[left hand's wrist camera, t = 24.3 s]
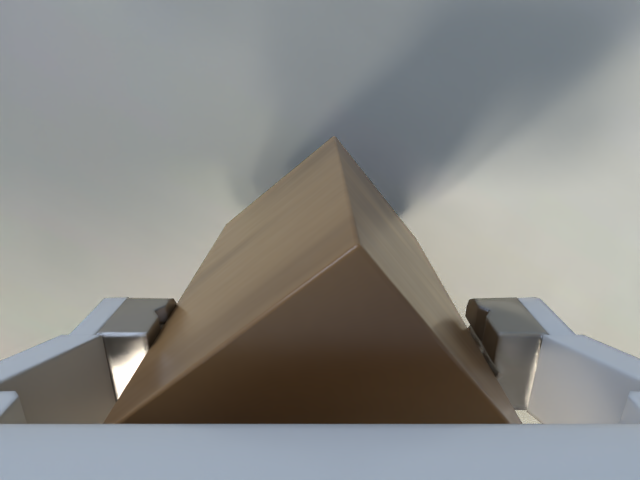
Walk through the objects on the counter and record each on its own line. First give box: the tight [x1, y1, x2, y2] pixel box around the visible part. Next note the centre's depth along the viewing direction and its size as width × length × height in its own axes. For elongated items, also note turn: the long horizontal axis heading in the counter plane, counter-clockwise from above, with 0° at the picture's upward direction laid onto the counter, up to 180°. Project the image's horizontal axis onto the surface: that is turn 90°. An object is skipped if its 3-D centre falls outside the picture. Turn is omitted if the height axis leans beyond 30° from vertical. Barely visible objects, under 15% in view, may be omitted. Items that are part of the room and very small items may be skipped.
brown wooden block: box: [103, 136, 522, 424], centre depth 11 cm, size 5×5×10 cm
